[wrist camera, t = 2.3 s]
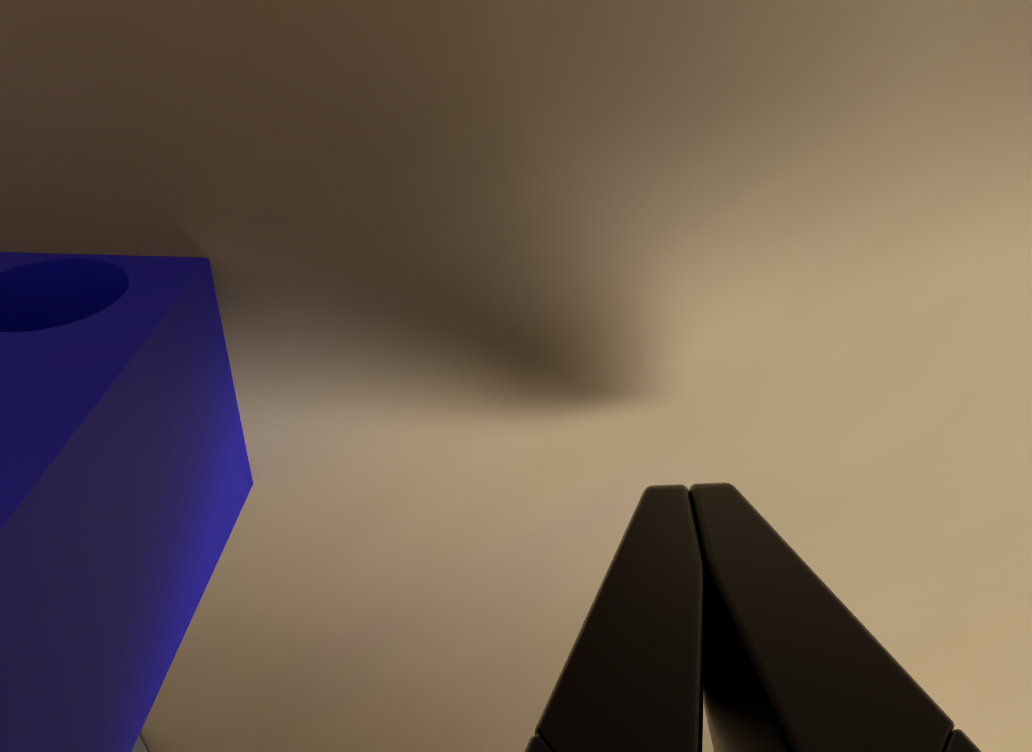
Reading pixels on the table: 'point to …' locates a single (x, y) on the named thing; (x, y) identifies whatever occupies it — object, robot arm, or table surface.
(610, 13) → the table surface
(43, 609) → the cable clip
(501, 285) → the table surface
